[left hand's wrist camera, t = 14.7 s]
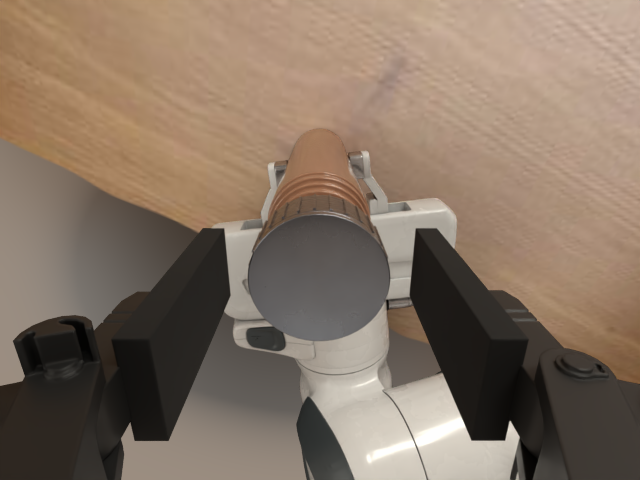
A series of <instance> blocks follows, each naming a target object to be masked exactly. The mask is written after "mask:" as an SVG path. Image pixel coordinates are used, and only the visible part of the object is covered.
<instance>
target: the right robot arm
mask: <svg viewBox="0 0 640 480" xmlns="http://www.w3.org/2000/svg"><path fill="white" fill-rule="evenodd" d="M348 157H349V160H350V162H351V165H352V167H353V170H354V172H355V175H356V177H357V179H359V178H362V179H363V180H364V182H365V183H366V184H367V186H368V187H369V189H370V190H371V191H372V193H367V194H366V197H367V204H368V207H369V211H370V217H371V222H372V224H373V225H374V226H376V227H377V230H378V232H379V235H380V237H381V240H382V242H383V245H384V248H385V250H386V253H387V255H388V258H389V259H387V260H388V264H389V268H390V287H389V291H388V295H387V298H386V300H385V302H384V304H383V306H382V308H381V310H380V311H379V312H378V314H377V315H376V316H375V317H374V318H373V320H372V321H371V322H369V323H368V324H367V325H366V326H365V327H363V328H362V329H360V330H359V331H357V332H355V333H353V334H351V335H349V336H346V337H343V338H340V339H335V340H329V341H308V340H303V339H298V338H295V337H292V336H289V335H287V334H285V333H283V332H281V331H279V330H278V329H276V328H275V327H273V326H272V325H271V324H270V323H268V322H267V321H266V320H265V319H264V317H263V316H262V315H261V314H260V312H259V311H258V310H257V308H256V306H255V304H254V303H253V300H252V298H251V295H250V291H249V287H248V268H249V266H248V264H249V261H250V259H251V256H252V254H253V253H252V249H253V247H254V244H255V242H256V239H257V237H258V234H259V232H261V230H262V228H263V225H264V223H265V221H266V220H267V221H268V212H269V208H270V205H271V202H272V200H273V197H274V195H275V192H276V190H277V188H278V185H279V183H280V180H281V178H282V176H283V173H284V171H285V168H286V166H287V163H288V161H278V162H270V163H269V164H268V175H269V180H270V186H271V188H270V190H269V192H268V195H267V198H266V200H265V203H264V205H263V208H262V211H261V218H258V219H250V220H241V221H233V222H224V223H217V224H215V225H213V226H212V228H224V230H225V240H226V251H227V261H228V272H229V283H230V293H231V296H230V298H229V301H228V303H227V305H226V308H225V310H224V312H225V313H226V314H227V315H229V316H230V317H232V318H234V319H235V321H234V327H233V337H234V340H235V342H236V344H237V345H238V346H240V347H243V348H247V349H254V350H260V351H266V352H272V353H277V354H282V355H285V356H289V357H293V358H295V360H296V362H297V364H298V366H299V368H300V370H301V376H300V393H301V399H302V403H303V405H302V408H301V411H300V414H299V417H298V421H297V432H298V437H299V441H300V444H301V448H302V455H303V462H304V468H305V473H306V478H307V480H510V474H511V469H512V465H513V461H514V457H515V453H516V449H517V445H518V441H519V435H518V433H517V432H516V430H515V428H514V426H513V425H512V423H511V421H510V422H509V427H508V431H507V435H506V439H505V441H471V438H470V436H469V434H468V431H467V429H466V427H465V424H464V422H463V420H462V417H461V415H460V413H459V410H458V408H457V406H456V403H455V401H454V399H453V396H452V394H451V392H450V389H449V387H448V385H447V382H446V380H445V378H444V375H443V373H442V371H440V372H438V373H437V374H435V375H433V376H430V377H426V378H423V379H420V380H417V381H413V382H410V383H407V384H404V385H400V386H397V387H394V388H392V377H391V372H390V370H389V367H388V365H387V362H386V358H387V355H388V351H389V329H388V316H387V311H388V309H397V308H405V307H410V306H414V305H413V303H412V301H411V298H410V296H409V293H410V282H411V272H412V261H413V251H414V240H415V230H416V228H437V229H438V230H439V231H440V233H441V234H442V235H443V236H444V237H445V239H446V240H447V241H448V242H449V243H450V245H451V246H452V247H453V248H454V249H455V243H456V232H457V219H456V216H455V214H454V212H453V211H452V210H451V209H450V208H449V207H448V206H447V205H446V204H445V203H444V202H442V201H441V200H440V199H438V198H426V199H418V200H410V201H401V202H393V203H388V201H387V197H386V195H385V193H384V192H383V190H382V189H381V187H380V186H379V184H378V183H377V182H376V180H375V179H374V177H373V176H372V175H371V170H370V157H369V152H368V151H367V150H366V151H358V152H351V153H348ZM516 480H519V475H518V473H517V476H516Z"/></svg>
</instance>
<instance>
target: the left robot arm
mask: <svg viewBox="0 0 640 480" xmlns="http://www.w3.org/2000/svg"><path fill="white" fill-rule="evenodd" d="M230 296H231V293H230V283H229V272H228V261H227V251H226V240H225V230H224V228H203V229H202V230H201V231H200V233H199V234H198V235H197V236H196V237H195V239H194V240H193V241H192V242H191V243H190V245H189V246H188V247H187V248H186V250H185V251H184V252H183V253H182V254H181V255H180V257H179V258H178V259H177V260H176V261H175V263H174V264H173V265H172V266H171V268H170V269H169V270H168V271H167V272H166V274H165V275H164V276H163V277H162V278H161V280H160V281H159V282H158V283H157V284H156V286H155V287H154V288H153V289H152V290H151V292H136V293H135V294H133V295H131V296H129V297H128V298H126V299H124V300H123V301H121V302H120V303H119V304H118V305H117V307H116V308H115V309H114V310H113V311H112V314H109V315H108V316H107V317H106V318H105V320H104V322H103V323H101V324H100V325H99V326H98V327H97V328H96V329H95V330H94V329H93V325H92V321H91V320H89V319H88V318H86V317H83V316H76V315H72V316H61V317H57V318H53V319H48V320H46V321H43V322H40V323H38V324H35V325H33V326H31V327H30V328H28V329H26V330H25V331H23V332H21V333H20V334H19V335H18V336H17V337H16V338H15V339H14V340H13V343H14V345H15V348H16V351H17V354H18V357H19V360H20V363H21V366H22V369H23V372H24V375H25V378H24V379H23V381H22V382H17V383H13V384H8V385H3V386H0V480H121V476H122V468H123V459H124V451H123V445H122V441H121V437H122V436H123V434H124V432H125V430H126V428H127V427H128V425H129V423H130V422H131V426H132V431H133V435H134V440H135V441H169V438H170V436H171V434H172V431H173V429H174V427H175V424H176V422H177V420H178V417H179V415H180V413H181V410H182V408H183V406H184V403H185V401H186V399H187V396H188V394H189V392H190V389H191V387H192V385H193V382H194V380H195V378H196V375H197V373H198V371H199V368H200V366H201V364H202V361H203V359H204V357H205V354H206V352H207V350H208V347H209V345H210V343H211V340H212V338H213V336H214V333H215V331H216V329H217V326H218V324H219V322H220V319H221V317H222V315H223V312H224V310H225V308H226V305H227V303H228V301H229V298H230ZM409 296H410V298H411V301H412V303H413V305H414V308H415V310H416V312H417V315H418V317H419V319H420V322H421V324H422V326H423V329H424V331H425V333H426V336H427V338H428V340H429V343H430V345H431V347H432V350H433V352H434V354H435V357H436V359H437V361H438V364H439V366H440V368H441V371H442V373H443V375H444V378H445V380H446V382H447V385H448V387H449V389H450V392H451V394H452V396H453V399H454V401H455V403H456V406H457V408H458V410H459V413H460V415H461V417H462V420H463V422H464V424H465V427H466V429H467V431H468V434H469V436H470V438H471V441H505V439H506V435H507V431H508V427H509V422H510V421H511V423H512V425H513V426H514V428H515V430H516V432H517V433H518V435H519V441H518V445H517V449H516V453H515V457H514V461H513V465H512V469H511V474H510V480H516V476H517V473H518V475H519V480H640V384H636V383H631V382H626V381H621V380H618V379H616V377H615V375H614V374H613V373H612V371H611V370H610V369H609V368H608V367H607V366H606V365H605V364H603V363H602V362H600V361H599V360H598V359H596V358H594V357H591V356H589V355H587V354H585V353H583V352H579V351H575V350H572V349H566V348H563V347H562V346H561V345H560V343H559V342H558V341H557V340H556V339H555V338H554V337H553V336H552V335H551V334H550V333H549V332H548V331H547V330H546V328H545V327H544V326H543V325H542V324H541V323H540V322H539V321H537V319H536V318H535V317H534V316H533V315H532V313H531V312H528V309H527V308H526V307H525V306H524V305H523V304H522V303H521V302H520V301H519V300H518V299H517V298H515V297H513V296H511V295H510V294H508V293H506V292H505V291H503V290H488V289H487V288H486V287H485V286H484V284H483V283H482V282H481V281H480V280H479V278H478V277H477V276H476V275H475V274H474V272H473V271H472V270H471V269H470V267H469V266H468V265H467V264H466V263H465V261H464V260H463V259H462V258H461V257H460V255H459V254H458V253H457V252H456V251H455V249H454V248H453V247H452V246H451V245H450V243H449V242H448V241H447V240H446V239H445V237H444V236H443V235H442V234H441V233H440V231H439V230H438V229H437V228H416V230H415V240H414V251H413V261H412V272H411V282H410V293H409Z"/></svg>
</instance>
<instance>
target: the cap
mask: <svg viewBox="0 0 640 480" xmlns="http://www.w3.org/2000/svg"><path fill="white" fill-rule="evenodd" d="M252 253H253V254H252V256H251V259H250V261H249V264H248V266H249V268H248V287H249V291H250V295H251V298H252V300H253V303H254V304H255V306H256V308H257V310H258V311H259V312H260V314H261V315H262V316H263V317H264V319H265V320H266V321H267V322H268V323H270V324H271V325H272V326H273V327H275V328H276V329H278V330H279V331H281V332H283V333H285V334H287V335H289V336H292V337H295V338H298V339H303V340H308V341H329V340H335V339H340V338H343V337H346V336H349V335H351V334H353V333H355V332H357V331H359V330H360V329H362V328H363V327H365V326H366V325H367V324H368V323H369V322H371V321H372V320H373V318H374V317H375V316H376V315H377V314H378V312H379V311H380V310H381V308H382V306H383V304H384V302H385V300H386V298H387V295H388V291H389V287H390V268H389V264H388V260H387V259H389V258H388V255H387V253H386V250H385V248H384V245H383V242H382V240H381V237H380V235H379V232H378V230H377V227H376V226H374V225H373V224H372V222H371V221H370V218H369V216H368V214H367V215H366V214H365V213H363V212H362V211H361V210H360V209H359V207H358V206H357V205H356V206H355V205H353V204H351V203H350V202H348V201H346V199H344V198H343V199H341V198H337V197H333V196H331V195H329V196H327V195H316V194H314V195H311V196H305V197H301V196H300V197H299V198H297V199H295V200H293V201H290V202H286V203H285V205H283V206H282V207H280V208H279V209H278V210H277V211H276V210H275V211H274V212H273V215H272V216H271V217H270V218H269V219H268V221H267V220H266V221H265V223H264V225H263V228H262V230H261V232H259V234H258V237H257V239H256V242H255V244H254V247H253V249H252Z"/></svg>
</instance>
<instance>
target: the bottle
mask: <svg viewBox="0 0 640 480" xmlns="http://www.w3.org/2000/svg"><path fill="white" fill-rule="evenodd" d="M314 194H316V195H327V196H329V195H331V196H333V197H337V198H341V199H343V198H344V199H346V201H348V202H350V203H351V204H353V205H355V206H356V205H357V206H358V207H359V209H360V210H361V211H362V212H363V213H365V214H366V215H367V214H368V216H369V218H370V221H371V217H370V211H369V207H368V204H367V202H366V199H365V197H364V194H363V192H362V189H361V187H360V184H359V182H358V179H357V177H356V175H355V172H354V170H353V167H352V165H351V162H350V160H349V157H348V155H347V152H346V150H345V147H344V145H343V143H342V141H341V140H340V138H339V137H338V136H337V135H336V134H334V133H333V132H331V131H329V130H326V129H313V130H310V131H308V132H306V133H304V134H303V135H302V136H301V137H300V138H299V139H298V141H297V142H296V144H295V147H294V149H293V151H292V154H291V156H290V159H289V161H288V163H287V166H286V168H285V171H284V173H283V176H282V178H281V180H280V183H279V185H278V188H277V190H276V192H275V195H274V197H273V200H272V202H271V205H270V208H269V212H268V219H269V218H270V217H271V216H272V215H273V212H274V211H275V210H276V211H277V210H278V209H279V208H280V207H282V206H283V205H285V203H286V202H290V201H293V200H295V199H297V198H299V197H300V196H301V197H305V196H311V195H314Z"/></svg>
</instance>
